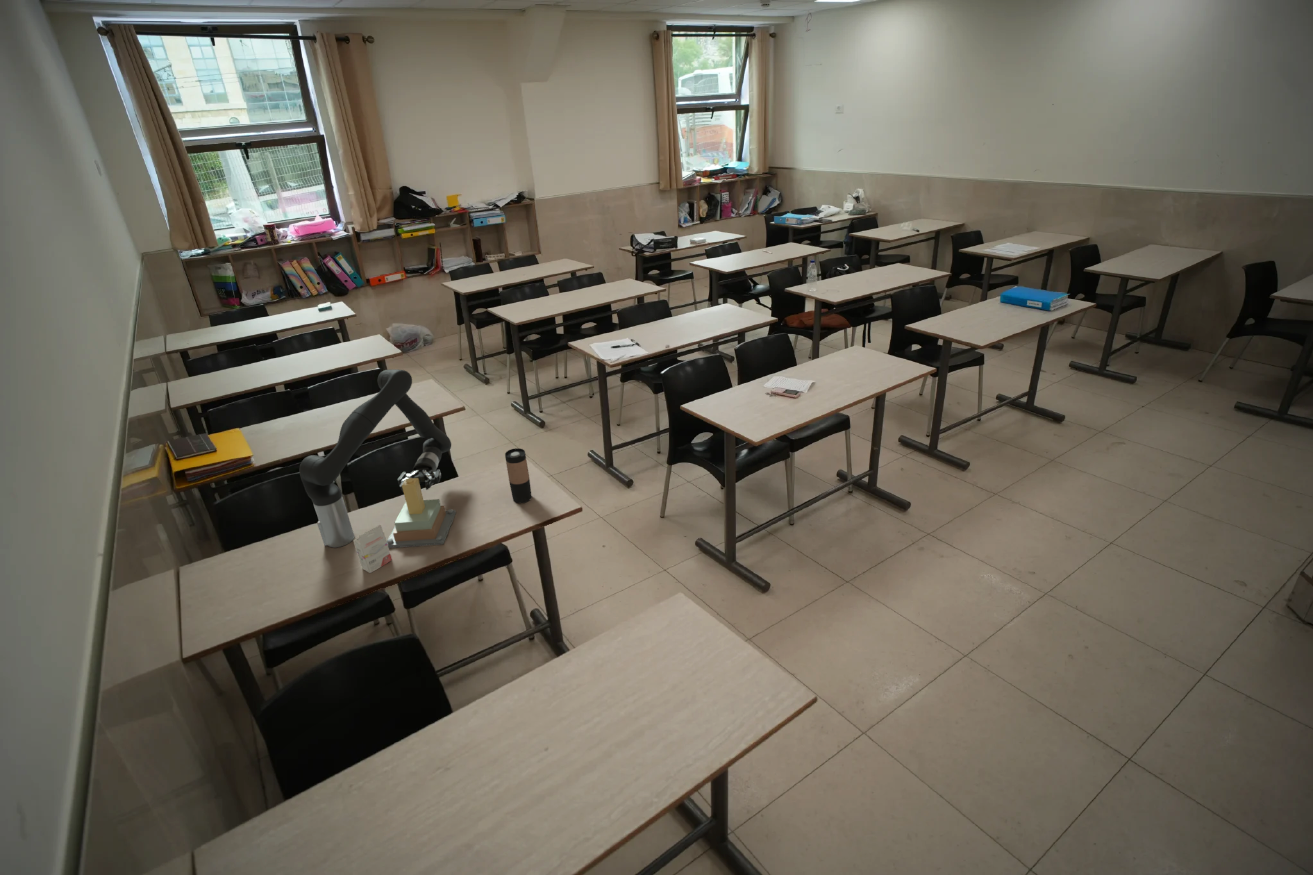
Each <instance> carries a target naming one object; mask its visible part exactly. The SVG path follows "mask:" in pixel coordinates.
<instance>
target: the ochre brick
mask: <svg viewBox="0 0 1313 875" xmlns="http://www.w3.org/2000/svg"><path fill="white" fill-rule="evenodd" d="M420 484H421V482H419V479H418V478H408V479H405V481H404V482H403V484H402V488H403V491H402V492H403V495H404V500H405V502H406V503H407V507H408V511H409V514H422V512H423V510H424V508H425V504H424V500H425V499H424V496H423V493H422V489H421V485H420Z"/></svg>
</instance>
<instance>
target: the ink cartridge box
mask: <svg viewBox="0 0 1313 875" xmlns="http://www.w3.org/2000/svg"><path fill="white" fill-rule="evenodd" d="M352 542H353V545H354V547H355V550H356V553H357V557H358V559H359V562H360V566H361V568H362V570H364V571H366V572H367V573H369V574H371V573H373V572H375V571H376V570H378V569H381V567H383V566H385V565H387V564H388V563H390V562H392V561H393V559H392V555H391V552H390V548H388V544H387V537H386V535H385V532H384V530H383V527H382V525H381V524H379V525H377V526H375V527H373V528H371V529H369V530H368V531H367V530H366V531H365V532H364V533H362V534H360V535H359V536H358V537H356V538H354V539H353V540H352Z"/></svg>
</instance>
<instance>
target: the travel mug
mask: <svg viewBox="0 0 1313 875" xmlns="http://www.w3.org/2000/svg"><path fill="white" fill-rule="evenodd" d="M504 458H505V464H506V470H507V476H508V481H509V487H510V491H511V496H512V500H513V502H514V503H516V504H525V503H528V502H530V501H531V499H532V487H531V478H530V474H529V473H530V472H529V468H528V461H527V455H526V450H525V449H523V448H518V447H517V448H511V449H509V450H507V451H506V452H505V453H504Z"/></svg>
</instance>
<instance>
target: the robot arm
mask: <svg viewBox="0 0 1313 875" xmlns="http://www.w3.org/2000/svg"><path fill="white" fill-rule="evenodd" d="M377 385H378V388H379V389H380V390H379V392H378V393H376V395H374V396H373V397H370V399H368V400H367V401H364V403H362V404H360V405H359V406H357V407H356V408H355V409H354V410H353V411H352V412H351V413H350V414H349V416H348V417H347V418H346V419H345V420H344V421H343V423H342V425H341V427H340V431H339V436H338V440H337V443H336V445H335V446H334V447H333V448H332V450H331V451H330V452H329V453H328V454H327V455H326V456H325V457H323V456H320V455H316V454H315V455H314V454H312V455H308V456H306V457H304V458H303V460H302V461H301V462H300V465H299V469H298V470H299V475H300V476H299V477H300V480H301V482H302V485H303V487H304V490H305V493H306V495H307V496H308V497H309V498H310V499H311V502H312V503H313V507H314V510H315V513H316V515H317V519H318V521H317V523H316V524H317V527H318V530H319V533H320V537H321V540H322V543H323V546H325V547H326V546H328V547H329V548H340V547H344V546H346V545H348V544H350V543H351V542H353V540H354V539H355V533H354V529H353V526H352V523H351V520H350V517H349V514H348V510H347V507H346V503H345V501H344V497H343V494H342V492H341V488H340V487H339V486H337V484H336V483H334V482H335V481H336V480H337V479H338V478H339V475H341V473H342V471H343V469H344V468H345V467H346V465H347V464H348V463H349V461H350V460H351V458H352V456H353V455H354V454H355V453H356V452H357V450H358V449H359V448H360V446H361V445H362V444H363V442H364V441H365V440H367V439H368V437H369V436H370V435H371V434H372V432H373V431H374V430H375V429H376V427H377V426H378V425H379V423H380V422H382V420H383V418H384V417H385V416H386V415H387V414H388V412H389V411H390V410H391V409H392V408H393V407H394V406H395V407H397V408H398V409H399V410H400V412H402V414H403V415H404V417H405V418H406V419H407V420H408V422H409V423H410V424H411V425H412V427H413V429H414V430H415V431H416V433H417V435H418V436H419V437H420V438H422V439H426V440H425V441H424V442H422V443H423V444H422V453H421V455H420V456H419V457H418V458H417V460H416V462H415V463H414V466H413V467H412V471H411V472H410V473H406V471H403V472H402V473H400V476H399V477H398V478H397V482H398V486H399V488H400V491H401V492H403V488H402V484H403V482H404V481H405V479H408V478H418V479H419V483H423V482H425V484H424V487H425V490H429V489H431V488H432V486H433V485H434V484H439V483H440V481H441V479H442V473H441V470H440V469H437V468H438V466H439V463H440V461H441V459H442V456H443V455H442V454H443V453H446V452H448V451H450V450H451V449H452V441H451V439H450V438H449V436H448V435H447V434H446V433H445V432H443V431H442V430H441V429H440V428H438V427H437V426H436V425H435V423H434V421H433V420H432V419H431V417H430V416H429V414H428V413H427V412H426V411H425V410H424V409H423V407H421V406H419V405H418V404H417V403H416V402H415V401H414V400H413V399H412V398H411V397H410V396H409V395H408V394H407V393H408V392H409V391H410V389H411V388H412V385H413V377H412V375H411V374H410V372H408V371H407V370H404V369H393V368H392V369H385V370H384V369H383V371H380V373H379V374H378V377H377Z"/></svg>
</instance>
